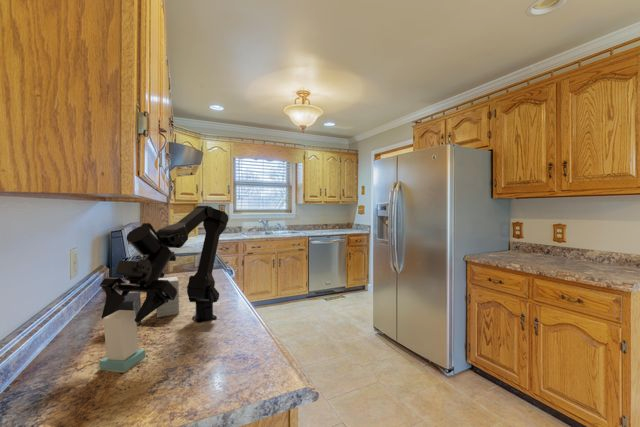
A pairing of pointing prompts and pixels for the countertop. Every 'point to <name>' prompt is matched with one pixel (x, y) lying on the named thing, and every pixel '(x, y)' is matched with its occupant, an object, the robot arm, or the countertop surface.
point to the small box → (131, 303)
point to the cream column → (120, 334)
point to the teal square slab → (122, 362)
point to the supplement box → (172, 305)
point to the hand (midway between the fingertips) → (119, 320)
